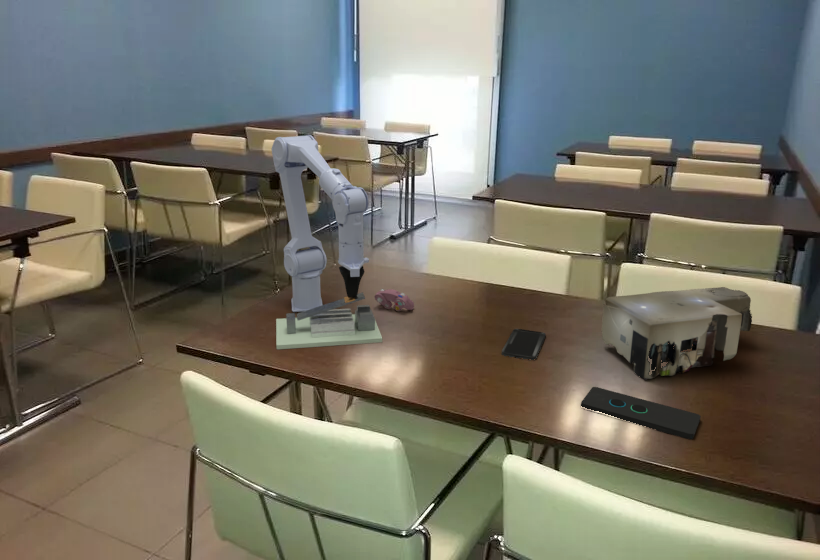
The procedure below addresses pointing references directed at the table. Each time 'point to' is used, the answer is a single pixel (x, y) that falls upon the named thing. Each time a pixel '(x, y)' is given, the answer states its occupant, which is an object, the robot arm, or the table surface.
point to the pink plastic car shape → (394, 299)
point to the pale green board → (306, 340)
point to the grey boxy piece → (675, 327)
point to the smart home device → (643, 412)
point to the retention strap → (329, 306)
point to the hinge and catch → (362, 320)
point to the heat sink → (332, 323)
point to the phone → (524, 344)
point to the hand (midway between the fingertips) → (352, 296)
